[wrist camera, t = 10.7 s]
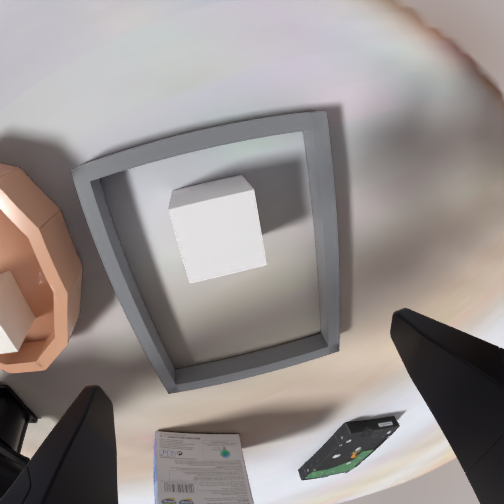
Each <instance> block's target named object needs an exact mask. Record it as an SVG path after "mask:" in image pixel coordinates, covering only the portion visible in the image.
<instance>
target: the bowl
mask: <svg viewBox="0 0 504 504" xmlns="http://www.w3.org/2000/svg"><path fill="white" fill-rule="evenodd" d="M9 270H10V271H11V273H12V275H13V277H14V279H15V281H16V283H17V285H18V287H19V289H20V291H21V293H22V294H23V296H24V298H25V300H26V302H27V304H28V305H29V307H30V309H31V311H32V312H33V314H34V316H35V318H36V319H35V320H34V322H33V324H32V326H31V328H30V329H29V331H28V333H27V335H26V337H25V339H24V341H23V343H22V345H21V347H20V349H19V351H18V352H11V353H4V354H0V369H1V370H3V371H6V372H8V373H22V372H33V371H43V370H46V369H47V368H48V366H49V365H50V364H51V363H52V362H53V361H54V359H55V358H56V357H57V356H58V355H59V354H60V353H61V351H62V350H63V349H64V348H65V347H66V346H67V345H68V342H69V340H70V337H71V335H72V332H73V330H74V327H75V325H76V322H77V320H78V317H79V315H80V299H81V283H82V271H83V266H82V263H81V261H80V259H79V256H78V254H77V251H76V249H75V247H74V244H73V241H72V239H71V236H70V234H69V231H68V228H67V226H66V223H65V220H64V218H63V215H62V212H61V210H60V208H59V207H58V206H57V205H56V204H55V203H54V202H53V201H52V200H51V199H50V198H49V197H48V196H47V195H46V194H45V193H44V192H43V191H42V190H41V189H40V188H39V187H38V186H37V185H36V184H35V183H34V182H33V181H32V180H31V179H30V178H29V177H28V176H27V174H26V173H25V172H24V171H23V170H22V169H21V168H20V167H15V166H11V165H6V164H2V163H0V274H1V273H4V272H7V271H9Z"/></svg>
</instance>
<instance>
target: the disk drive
mask: <svg viewBox="0 0 504 504" xmlns="http://www.w3.org/2000/svg"><path fill="white" fill-rule="evenodd" d="M399 426H400V425H399V424H398V422H397V420H396V419H395V417H394V416H392V417H385V418H378V419H371V420H363V421H355V422H345V423H344V424H343V425H342V426H341V427H340V428H339V429H338V430H337V431H336V432H335V433H334V435H333V436H332V437H331V438H330V439H329V440H328V441H327V442H326V443H325V444H324V445H323V446H322V447H321V448H320V449H319V450H318V451H317V452H316V453H315V454H314V455H313V456H312V457H311V458H310V459H309V460H308V461H307V462H306V463H305V464H304V465H303V466H302V467H301V468H300V469H299V470H298V471H299V475H300V478H301V480H309V479H316V478H323V477H328V476H329V475H334V474H339V473H344V472H345V473H348V472H349V471H350V470H352V469H353V468H354V467H357V466H358V465H359V464H360V463H361V462H362V461H364V460H365V459H366V458H367V457H368V456H369V455H370V454H371V453H373V452H374V451H375V450H376V449H377V448H378V447H379V446H380V445H381V444H382V443H383V442H384V441H385V440H387V438H389V436H391V435H392V434H393V433H394V432H395V431H396V430H397V428H398V427H399Z"/></svg>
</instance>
